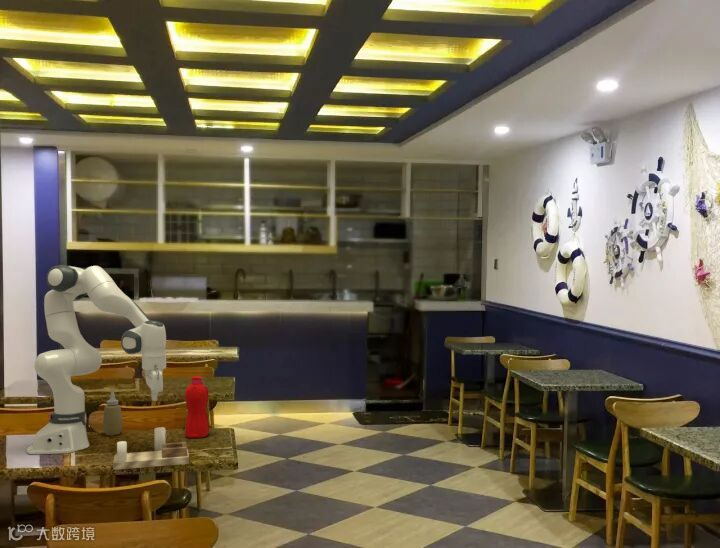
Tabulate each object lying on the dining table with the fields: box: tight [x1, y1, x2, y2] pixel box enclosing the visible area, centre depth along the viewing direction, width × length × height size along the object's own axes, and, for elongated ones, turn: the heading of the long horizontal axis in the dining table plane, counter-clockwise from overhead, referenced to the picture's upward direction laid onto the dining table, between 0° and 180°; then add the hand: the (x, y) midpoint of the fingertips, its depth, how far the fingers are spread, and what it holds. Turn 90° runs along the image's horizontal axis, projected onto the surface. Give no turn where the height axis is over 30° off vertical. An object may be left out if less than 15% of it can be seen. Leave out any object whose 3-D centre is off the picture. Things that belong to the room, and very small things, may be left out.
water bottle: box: [184, 375, 213, 439], centre depth 298 cm, size 9×11×25 cm
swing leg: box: [116, 440, 128, 462], centre depth 255 cm, size 9×3×6 cm, turn 15°
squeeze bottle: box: [102, 391, 124, 437], centre depth 301 cm, size 8×8×18 cm
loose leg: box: [153, 426, 166, 451], centre depth 273 cm, size 4×4×9 cm
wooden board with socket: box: [112, 441, 190, 471], centre depth 259 cm, size 26×12×5 cm, turn 106°
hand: (154, 400), depth 270 cm, fingers closed
